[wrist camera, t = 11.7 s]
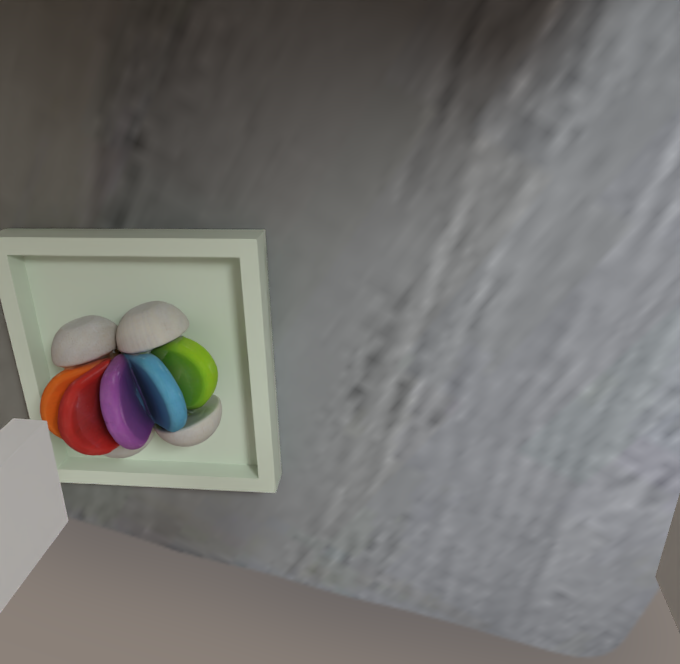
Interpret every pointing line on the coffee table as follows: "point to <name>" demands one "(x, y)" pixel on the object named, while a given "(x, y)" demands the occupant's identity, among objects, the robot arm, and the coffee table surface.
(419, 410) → the coffee table surface
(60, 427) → the rainbow lobed toy
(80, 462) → the tray
